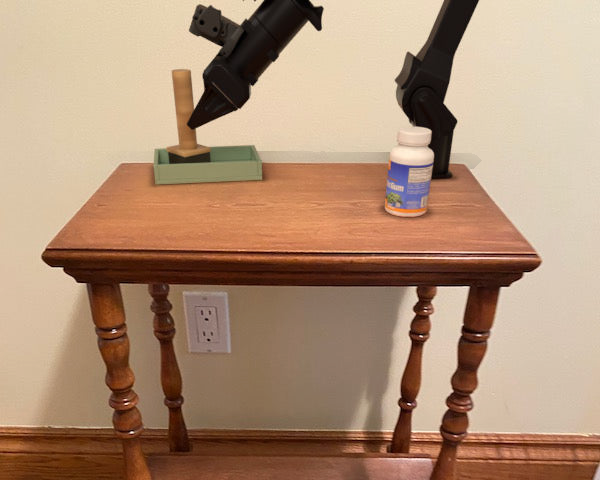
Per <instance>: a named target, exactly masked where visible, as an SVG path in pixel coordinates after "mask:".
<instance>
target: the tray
mask: <svg viewBox="0 0 600 480" xmlns="http://www.w3.org/2000/svg"><path fill="white" fill-rule="evenodd" d="M209 147H210V148H211V152H210V160H211V162H209V163H184V164H169V157H168V151H167V148H166V147H165V148H154V153H153V174H154V182H155V185H157V186H158V185H175V184H198V183H200V184H202V183H220V182H245V181H263V161H262V159H261V157H260V155H259V153H258V149H257V148H256V146H255V144H247V145H246V144H245V145H217V146H209Z"/></svg>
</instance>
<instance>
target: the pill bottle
mask: <svg viewBox="0 0 600 480" xmlns="http://www.w3.org/2000/svg"><path fill="white" fill-rule="evenodd" d="M431 133H432V131H431V130H430V129H427V128H423V127H412V126H402V127H399V128H398V129H397V134H396V135H397V136H396V143H397V145H396V146H394V147H392V148H391V150H390V151H389V156H388V166H387V175H386V187H385V195H384V210H385V211H386V212H387V214H390V215H393V216H397V217H403V218H415V217H420V216H423V215H425V214H426V212H427V211H428V205H429V197H430V188H431V183H432V178H431V176H432V168H433V161H434V153H433V151H432V150H431V149H430V148H428V144H430V141H431Z"/></svg>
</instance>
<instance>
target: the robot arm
mask: <svg viewBox="0 0 600 480" xmlns="http://www.w3.org/2000/svg"><path fill="white" fill-rule="evenodd" d="M242 1H243V2H244V1H245V0H242ZM256 1H257V0H253V2H256ZM479 2H480V0H443V1H442V4H441V6H440V9H439V11H438V14H437V16H436V18H435V20H434V23H433V25H432V27H431V30H430V31H429V32H430V33H429V35H428V37H427V38H426V41H425V43H424V44H423V45H422V47H421V48H420V49H419V51H418V52H417V53H416V55H414V54H413V53H412V52H410V51H406V52H405V53H406V54H405V57H404V60H403V64H402V67H401V70H400V72H399V74H398V75H397V76H396V77H395V78H394V82H395V84H396V89H395V99H396V103H397V105H398V106H399V108H400V109H401V110H402V112H403V113H404V114H405V116H406V117H407V119H408V123H409V124H410V125H412V126H411V127H423V128H427V129H430V130H431V131H432V133H431V141H430V144H428V148H430V149H431V150H432V151H433V153H434V161H433V168H432V176H431V179H442V178H443V179H446V178H452V177H453V173H452V172H451V171H450V170H449V168H450V161H451V154H452V146H453V139H454V134H455V133H454V132H455V129H456V127H457V124H458V119H457V118H456V117H455V115H454V114H453V112H451V110H450V109H449V108H448V107H447V105H446V104H445V99H446V96H447V93H448V89H449V86H450V81H451V76H452V70H453V65H454V59H455V55H456V52H457V50H458V48H459V46H460V43H461V42H462V39H463V37H464V35H465V32H466V31H467V28H468V26H469V23H470V21H471V20H472V17H473V15H474V13H475V10H476V8H477V6H478V4H479ZM324 10H325V8H324V6H323V5H317V6H316V5H314V4H313V2H312V1H311V0H262V2H261V3H260V4H259V6H258V7H257V8H256V9H255V11H253V13H252V14H251V15H250V16H249V18H244V20H243V21H242V23H240V24H239V23H237V22H235V21H233V20H232V19H230V18H228V17H226V16H225V15H223V13H222V10H221V9H218V8H216V7H214V6H213V5H212V4H210V5H208V6H206V5H203V4H201V3H199V4H197V5H196V7H195V9H194V13H193V15H192V20H191V23H190V26H189V29H188V32H189V33H190V34H192V35H194V36H195V37H201V38H203V39H205V40H207V41H209V42H211V43H213V44H215V45H216V46H218V47H221V48H220V49H219V51H218V52H217V54H216V55H215V56H214V57H213V59H212V60H211V61H210V62H209V64H208V65H207V66H206V67H205V68H204V69H203V72H202V74H201V75H202V76H201V77H202V81H203V92H202V94H201V96H200V98H199V100H198V102H197V104H196V105H195V106H194V111H193V113H192V115H191V117H190V118H189V120H188V122H187V126H188V127H189V128H190V129H192V130H194V129H196V130H197V129H198V128H200V127H202V126H204V125H207V124H209V123H211V122H213V121H216V120H217V119H219V118H222V117H224V116H227V115H229V114H231V113H234V112H237V111H238V110H241V109H242V108H243V107H244V106H245V105H246V103H247V102H249V100H250V99H251V96H252V87H254V86H255V85H256V83H258V82H259V78H260V77H262V76H263V74H265V73H264V72H266V71H267V69H268V68H269V67H270V66H271V65H272V63H275V62H276V61H277V59H278V58H280V54H281V53H282V52H283V51H284V49H285V48H286V47H287V46H288V45H289V44H290V43H291V42H292V41H293V40H294V38H295V37H296V36H297V35H298V34H299V32H300V31H301V30H302V29H303V28H304V27H305V26H306V25H307V23H308V22H309V23H310V24H311V25H312V26H313V28H314V29H315V30H316V31H317V32H321V31H322V29H323V23H322V22H323V21H322V20H323V13H324Z"/></svg>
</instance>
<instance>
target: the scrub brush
mask: <svg viewBox="0 0 600 480" xmlns="http://www.w3.org/2000/svg"><path fill="white" fill-rule="evenodd" d="M171 78H172V89H173V90H172V91H173V98H174V108H175V109H174V110H175V119H176V126H177V127H176V128H177V137H178V144H176V145H175V144H174V145H170V146H166V147H165V148H167V151H168V157H169V164H184V163H209V162H211V160H210V152H211V148H210V147H211V146H207V145H202V144H200V143H198V138H197V128H196V129H194V130H192V129H190V128H189V127H188V126H187V122H188V120H189V118H190V117H191V115H192V113H193V111H194V109H195V103H194V91H193V79H192V71H191V69H187V68H177V69H171Z"/></svg>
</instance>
